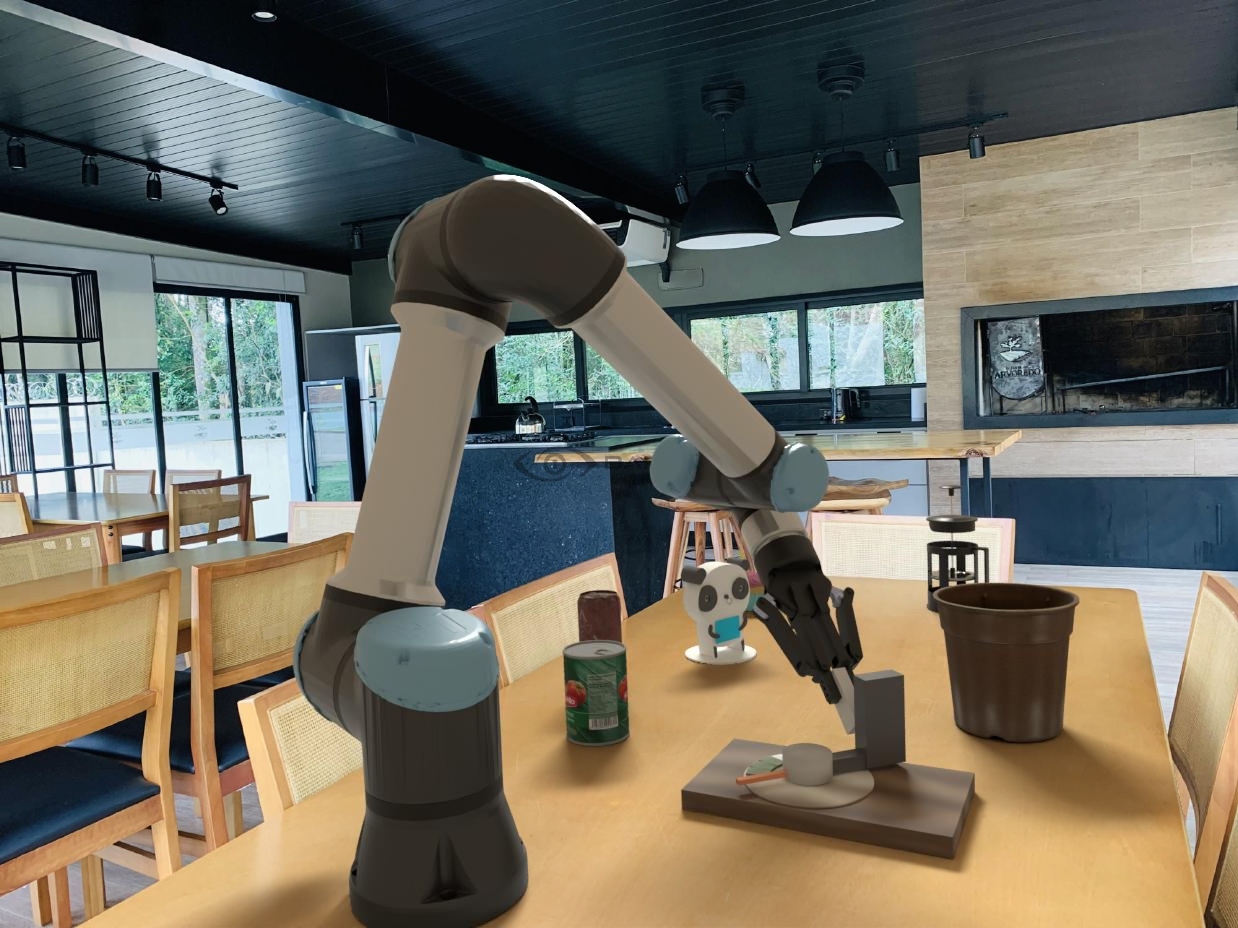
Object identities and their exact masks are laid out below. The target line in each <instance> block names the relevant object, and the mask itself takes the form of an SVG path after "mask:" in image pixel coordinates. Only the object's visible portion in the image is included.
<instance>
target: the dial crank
mask: <svg viewBox="0 0 1238 928" xmlns="http://www.w3.org/2000/svg"><path fill="white" fill-rule="evenodd" d="M853 676H854V717H855V734H854V746H855V748H853V749H846V750H841V751H839V750H838V751H835V752H833V751H832V749H830V748H829V747H827V746H824V745H823V744H818V743H809V742H800V743H799V742H798V743H794V744H793V743H792V744H790V745H786V746H787V747H785V748H784V749H783V750H782V760H783V770H779V771H773V772H768V773H762V774H756V775H751V776H745V777H739V778H736V783H737V784H738V785H739V786H740V785H745V784H751V783H757V782H762V781H768V780H774V779H779V778H785V779H786V780H788V781H790V782H792V783H795V784H799V785H810V786H811V785H821V784H825V783H828V782H829V781H831V780H832V778H833V774H835V773H841V772H846V771H852V770H857V769H863V768H867V769H868V768H874V767H879V766H885V765H890V764H896V763H907V762H906V761H907V760H906V759H907V755H906V752H907V751H906V750H907V749H906V709H905V708H906V705H905V704H906V703H905V702H906V701H905V698H906V697H905V675H904V674H903V673H901V672H898V671H896V670H894V669H892V668H891V669H885V670H877V671H872V672H865V673H864V672H863V673H858V674H854V675H853ZM832 752H833V753H832Z"/></svg>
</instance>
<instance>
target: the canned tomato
mask: <svg viewBox="0 0 1238 928" xmlns="http://www.w3.org/2000/svg"><path fill="white" fill-rule="evenodd" d="M562 655H563V674H564V675H563V680H564V701H565V724H566V726H565V727H566V733H565V734H566V739H567V740H568V742H570V743H572V744H575V745H578V746H583V747H603V746H610V745H615V744H617V743H621V742H623V741H625V740H626V739H627V738H629V736H630V734H631V732H630V718H629V717H630V715H629V714H630V711H629V692H628V691H629V690H628V689H629V688H628V667H627V664H628V660H627V646H626V644H625V643H623V642H622V643H621V642H617V641H610V640H590V641H582V642H579V641H578V642H573V643H571V644H568V645H566V646H565V647H564V648H563V649H562Z"/></svg>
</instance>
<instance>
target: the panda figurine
mask: <svg viewBox="0 0 1238 928" xmlns="http://www.w3.org/2000/svg"><path fill="white" fill-rule="evenodd" d="M750 564H751V563H750V561H749V560H748V559H747V558H743V559H741V558H740V557H734V556H729V557H728V558H727V559H726V561H725V562H722V561H708V562H705V563H702V564H700V565H698V566H692V565H685V566H684V567H682V569H681V572H680V578H681V581H682V582H684V583H685V585H684V589H683V595H682V604H683V607H684V609H685V612H686V613H687V615H688V616H689V617H690V618H692V620H693V621H695V624H696V625H695V626H696V627H695V628H696V633H697V645H695V646H692V647H689V648H688V649H686V650H685V652H684V654H685V655H684V656H686V657H687V658H688V659H687V658H686V657H685V658H686V659H687V660H689V661H691V660H692V661H691V662H693V661H695V662H694V663H697V662H700V663H699V664H702V663H707V664H706V665H711V664H712V665H713V666H714V665H715V666H725V665H735V663H737V664H742V663H746V662H749V661H752V660H753V659H755V658H756V656H757V650H756V649H755V648H754V647H751V646H748V645H746V644H745V638H744V637H745V636H744V629H745V627H746V626H747V624H748V621H749V620H748V615H747V613H745V612H746V611H745V610H746V608H747V605H748V602H749V598H750V586H749V581H748V577H747V575H746V572H748V571H749V570H750V566H751V565H750ZM745 571H746V572H745Z"/></svg>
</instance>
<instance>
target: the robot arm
mask: <svg viewBox="0 0 1238 928" xmlns="http://www.w3.org/2000/svg"><path fill="white" fill-rule="evenodd" d="M387 258H388V259H387V260H388V261H387V264H388V271H389V275H390V279H391V281H392V282H393V285H394V287H395V290H394V294H393V298H392V302H391V305H390V306H391V307H390V313H391V315H392V316H393V318H394V319H395V320H396V323H397V324H398V325H399V327H400V333H401V334H400V337H399V341H398V345H397V350H396V354H395V358H394V363H393V367H392V371H391V376H390V379H389V385H388V388H387V392H386V396H385V401H384V405H383V409H382V410H383V411H382V415H381V419H380V422H379V427H378V430H377V431H378V432H377V434H376V440H375V444H374V448H373V452H372V456H371V461H370V463H369V464H370V465H369V470H368V474H367V477H366V482H365V486H364V489H363V490H364V491H363V494H362V499H361V504H360V508H359V512H358V517H357V521H356V525H355V528H354V534H353V538H352V542H351V545H350V550H349V555H348V558H347V563H346V564H345V566H344V567H343V568H342V569H339V570H338V571H337V572H335V573H334V574H332V575H331V576H330V577H328V578H327V579H326V581H325V586H324V591H323V594H322V597H321V601H320V606H319V609H318V610H317V611H315V612H314V613H313V614H312V615H311V616H309V617H308V618H307V620H306V621H305V623H304V624H303V626H302V627H301V629H300V631H299V633H298V635H297V638H296V640H295V642H294V643H295V644H294V649H293V653H292V654H293V655H292V665H293V666H292V668H293V675H294V677H295V681H296V683H297V686H298V688H299V690H300V691H301V693H302V696H303V697H304V698H305V700H306V701H307V702H308V703H309V704H310V705H311V706H312V708H313V709H314V711H315V712H316V713H317V714H319V715H320V716H321V717H323V718H324V720H327V721H329V722H331V723H334V724H335V725H337V726H338V727H340V728H341V729H342V730H343V731H344V732H346V733H347V734H349V735H350V736H352V737H353V738H355V739H356V740H357V741H358V742H360V744H361V752H362V767H363V768H362V769H363V783H364V785H363V786H364V794H365V814H364V817H363V821H362V825H361V829H360V833H359V836H358V841H357V844H356V849H355V854H354V860H353V862H352V864H351V866H350V870H349V875H348V888H349V903H350V909H351V912H352V913H353V915H354V916H355V917H356V919H357V920H358V922H360V923H362V924H363V925H364V926H366V927H368V928H473V927H476V926H478V925H481V924H483V923H485V922H488V921H490V920H492V919H495V918H496V917H498V916H500V915H502V914H503V913H504V912H505V911H507V910H508V909H510V908H512V906H514V904H516V902H518V901H519V900H520V899H521V897H522V896H523V894H524V893H525V891H526V889H527V887H528V883H529V864H528V863H529V861H528V853H527V847H526V845H525V843H524V841H523V839H522V837H521V836H520V834H519V831H518V828H517V825H516V821H515V818H514V816H513V813H512V811H511V808H510V804H509V802H508V800H507V796H506V794H505V791H504V790H505V789H504V787H505V786H504V773H503V771H504V770H503V751H502V750H503V749H502V748H503V747H502V728H501V708H500V707H501V706H500V687H499V679H500V668H501V667H500V663H499V658H498V655H497V654H498V653H497V647H496V640H495V636H494V634H493V631H492V630H491V628H490V626H489V625H488V624H487V623H486V622H485V621H484V620H482V619H481V618H480V617H478V616H477V615H474V614H472V613H470V612H467V611H463V610H460V609H456V608H449V609H445V606H446V600H445V599H444V597H443V595H442V593H441V592H440V591H439V589H438V587H437V585H436V575H437V571H438V565H439V562H440V557H441V553H442V548H443V544H444V540H445V534H446V531H447V525H448V522H449V518H450V513H451V509H452V508H451V507H452V504H453V500H454V494H455V491H456V487H457V486H456V485H457V481H458V478H459V477H458V476H459V473H460V469H461V468H460V467H461V464H462V459H463V454H464V450H465V446H466V441H467V438H468V437H467V436H468V432H469V427H470V423H471V418H472V414H473V411H474V406H475V401H476V398H477V393H478V388H479V383H480V379H481V374H482V369H483V366H484V360H485V357H486V352H487V351H488V350H490V349H491V348H492V347H494V346H495V345H497V344H499V343H501V342H502V341H504V339H505V336H506V331H507V327H508V323H509V318H510V315H511V314H510V313H511V309H512V305H513V302H516V303H520V304H523V305H525V306H527V307H529V308H532V309H533V310H535V311H536V312H538V313H539V314H541V316H543V317H544V318H545V319H546V320H547V321H548V322H549V323H550V324H551V325H552V326H554V328H556V329H569V328H570V329H572V330H573V331H574V332H575V333H576V334H577V335H578V336H579V337H580V338H581V339H582V340H583V341H584V342H586V343H587V344H588V345H589V346H590V348H591V349H592V350H594V351H595V352H596V353H597V354H598V355H599V357H601V358H602V359H603V360H604V361H605V362H606V363H607V364H608V365H609V366H611V368H613V369H614V370H615V372H617V373H618V375H620V376H621V377H622V378H623V379H624V380H625V381H626V383H628V384H629V385H630V386H631V387H632V388H633V389H634V390H636V391H637V393H639V395H640V396H642V397H643V398H644V399H645V400H646V401H647V402H648V403H649V404H650V405H651V406H652V407H653V408H654V409H655V410H656V411H657V412H658V413H659V414H660V415H661V416H662V417H663V418H664V419H666V421H668V422H669V424H671V425H672V426H673V427H674V428H675V429H676V430H677V431H678V432H679V433H680V434H679V433H676V434H670V435H668V436H666V437H665V438H663V439H662V440H661V441H660V442H659V443H658V444H657V445H656V447H655V450H653V453H652V456H651V461H650V465H649V474H650V475H649V476H650V480H651V482H652V485H653V487H654V488H655V489H656V490H657V491H658V492H660V493H661V494H664V495H667V496H670V497H672V498H673V499H675V500H683V501H687V502H691V503H694V504H698V505H702V506H706V507H709V508H710V507H711V508H713V509H716V510H720V511H724V512H727V513H731V514H732V515H733V517H734V519H735V521H736V523H737V526H738V529H739V531H740V533H741V535H742V538H743V540H744V541H743V542H744V543H745V546H746V549H747V551H748V553H749V555H750V557H751V559H752V561H753V567H754V569H755V572H757V574H758V576H759V579H760V581H761V584H762V585H763V587H764V597H759V598H758V600H757V602H756V603H755V605H754V607H753V609H752V611H751V614H752V615H753V616H754V617H755V618H756V619H757V620H759V622H761V623H762V624H763V625H764V626H765V627H766V629H767V630H768V632H769V633H770V635H771V636H772V638H773V639H774V641H775V642H776V644H777V645H778V647H779V648H780V650H781V651H782V652H783V654H784V656H785V657H786V659H787V660H788V662H789V664H790V665H791V666H792V668H793V669H794V671H795V672H796V674H797V675H798V676H799V677H801V678H806V677H807V676H809V677H812V678H811V681H812V682H813V684H819V686H820V688H821V691H822V693H823V696H824V698H825V700H826V702H827V703H828V704H829V706H831V705H834V706H835V708H836V709H835V710H836V712H837V714H838V715H839V719H840V722H841V724H842V726H843V727H844V730H845V733H846V735H853V734H854V735H855V717H854V676H853V675H855V672H854V670H855V669H856V668H857V666H858V665H859V664H860V662H862V660H863V658H864V653H863V652H864V651H863V647H862V644H861V639H860V635H859V629H858V625H857V620H856V616H855V612H854V607H853V606H854V605H853V602H854V597H855V590H854V589H853V588H852V587H850V586H847V587H845V588H844V589H841V588H838V587H836V586H834V585H833V583H832V581H831V580H830V579H829V577H827V576H826V575H825V573H824V572H823V569H822V563H821V560H820V558H819V555H818V554H817V551H816V549H815V547H814V545H813V541H812V540H810V539H809V532H808V531H807V529H806V526H805V525H804V522H803V521H802V519H801V517H800V515H799V513H805V512H809V511H812V510H814V509H815V508H816V507H818V506H819V505H820V503H821V502H822V501H823V498H824V497H825V494H826V492H827V491H828V487H829V482H830V481H829V480H830V471H829V465H828V462H827V460H826V457H825V456H824V454H823V453H822V452H821V450H820V449H818V447H815V446H813V445H811V444H804V443H802V442H799V441H798V442H797V441H794V442H792V443H791V442H788V441H787V440H786V439H785V438H784V437H783V436H782V435H781V434H780V433H779V432H778V430H776V429H775V427H773V426H772V425H771V424H770V423H769V421H767V419H766V418H765V417H764V416H763V415H762V414H761V413H760V412H759V411H758V410H757V408H755V407H754V406H753V404H751V402H750V401H749V400H748V399H747V398H746V397H745V396H744V395H743V393H742V392H740V391H739V389H738V388H737V387H736V386H735V385H734V384H733V383H732V382H731V381H730V380H729V379H728V378H727V377H726V376H725V375H724V374H723V372H722V371H721V369H719V368H718V367H717V366H716V364H714V363H713V361H711V359H710V358H709V357H708V356H707V355H706V354H705V353H704V352H703V351H702V350H701V349H700V348H699V347H698V346H697V344H695V343H694V341H692V339H691V338H690V337H689V336H688V335H687V334H686V333H685V332H684V331H683V329H682V328H680V327H679V325H678V324H677V323H676V322H674V320H673V319H672V318H671V317H670V316H669V315H668V314H667V313H666V312H665V310H664V309H662V307H661V306H660V305H659V304H658V303H657V301H655V299H653V298H652V297H651V295H650V294H649V293H648V292H647V291H645V289H644V288H643V287H642V286H641V285H640V284H639V283H638V282H637V281H636V279H634V277H633V276H632V275H631V274H630V273H629V272H628V270H627V268H628V257H627V255H626V253H625V252H624V251H623V250H622V249H621V248H620V247H619V246H618V245H617V244H616V243H615V241H614V240H613V239H612V238H611V237H610V236H609V235H608V234H607V233H606V232H605V231H604V230H603V229H602V228H601V227H600V226H599V225H598V224H597V223H596V222H594V221H593V219H591V218H590V217H589V216H588V215H587V214H586V213H584V211H582V210H581V209H579V208H578V207H576V206H575V205H574V204H573V203H572V202H570V201H569V200H567V199H566V198H565V197H563V196H562V195H560V194H558V193H557V191H554V190H553V189H551V188H549V187H547V186H545V185H544V184H542V183H539V182H536V181H534V180H531V179H529V178H526V177H522V176H517V175H511V174H510V175H509V174H496V175H495V174H494V175H491V176H486V177H483V178H481V179H478V180H476V181H473V182H472V183H470V184H468V185H466V186H465V187H462V188H459V189H457V190H455V191H453V192H451V193H448V194H446V195H444V196H441V197H435V198H433V199H431V200H428V201H427V202H424V203H423V204H422V205H420V206H418V207H417V208H416V209H414V211H412V212H411V213H410V214H409V215H408V216H406V217H405V219H403V220H402V221H401V223H400V224H399V226H398V227H397V229H396V231H395V232H394V234H393V237H392V239H391V241H390V245H389V250H388V257H387ZM830 599H831V603H832V608H834V609H835V613H834V614H835V620H836V624H837V627H836V625H835V622H834V619H833V618H832V615H831V608H830V605H829V600H830ZM783 614H784V615H783ZM785 616H786V618H785Z"/></svg>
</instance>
